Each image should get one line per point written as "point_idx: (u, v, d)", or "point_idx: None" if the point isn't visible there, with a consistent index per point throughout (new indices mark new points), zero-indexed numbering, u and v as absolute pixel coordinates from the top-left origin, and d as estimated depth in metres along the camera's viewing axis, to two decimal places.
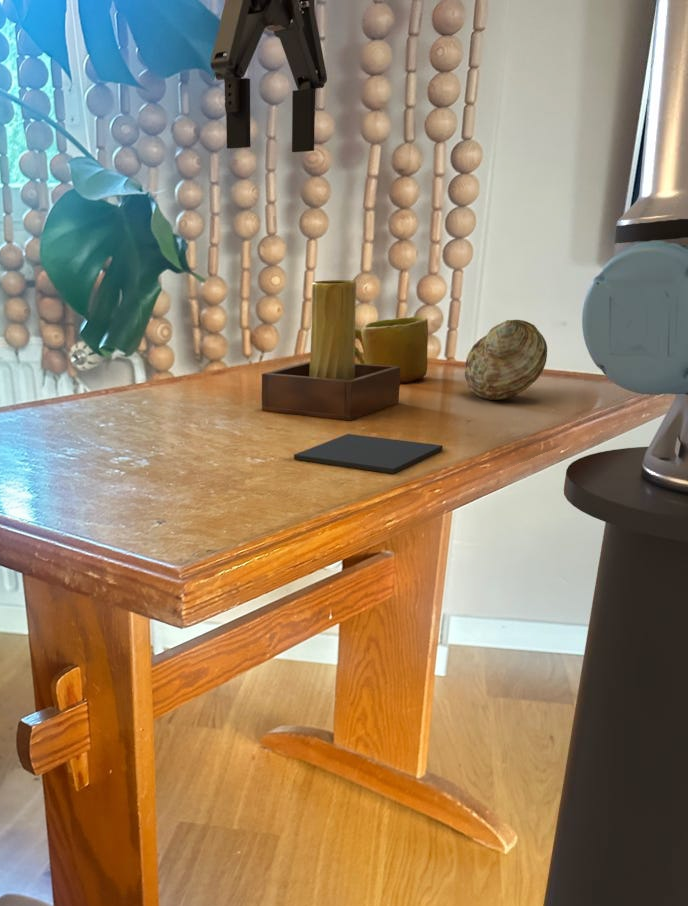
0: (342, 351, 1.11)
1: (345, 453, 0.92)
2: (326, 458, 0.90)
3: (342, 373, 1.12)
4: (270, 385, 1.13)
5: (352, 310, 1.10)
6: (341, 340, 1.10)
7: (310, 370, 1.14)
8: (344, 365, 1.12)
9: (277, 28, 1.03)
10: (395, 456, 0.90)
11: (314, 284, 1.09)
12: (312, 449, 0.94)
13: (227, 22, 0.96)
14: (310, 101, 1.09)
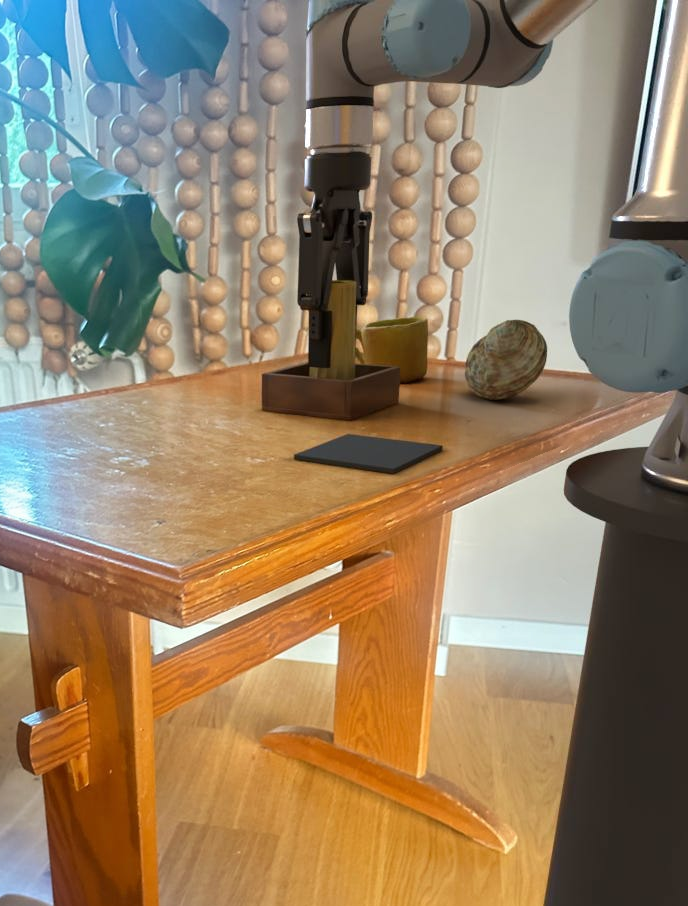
0: (343, 351, 1.11)
1: (345, 453, 0.92)
2: (326, 458, 0.90)
3: (343, 373, 1.12)
4: (270, 385, 1.13)
5: (352, 310, 1.10)
6: (341, 340, 1.10)
7: (310, 370, 1.14)
8: (344, 365, 1.12)
9: None
10: (395, 456, 0.90)
11: None
12: (312, 449, 0.94)
13: (306, 264, 1.05)
14: None
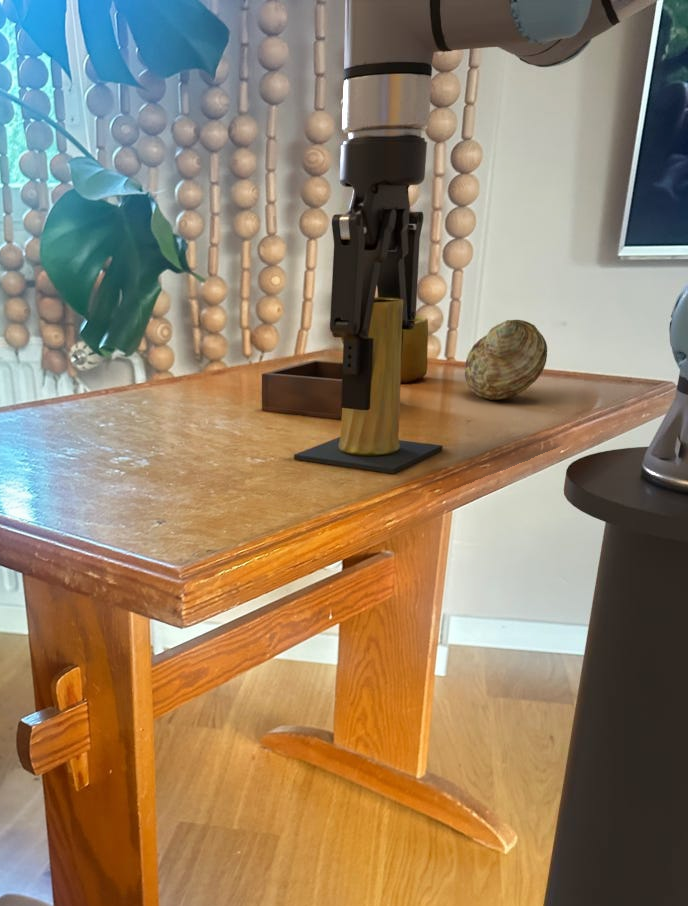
0: (386, 387, 0.88)
1: (345, 453, 0.92)
2: (326, 458, 0.90)
3: (385, 414, 0.89)
4: (270, 385, 1.13)
5: (398, 336, 0.87)
6: (384, 373, 0.87)
7: (344, 410, 0.91)
8: (387, 404, 0.89)
9: None
10: (395, 456, 0.90)
11: None
12: (312, 449, 0.94)
13: (342, 280, 0.81)
14: None
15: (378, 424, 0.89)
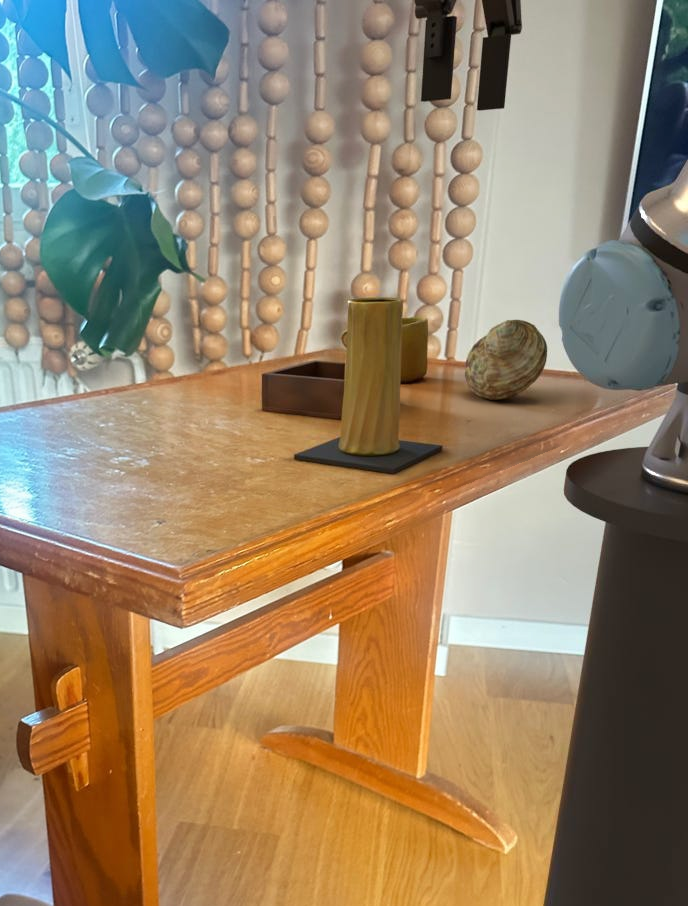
0: (386, 387, 0.88)
1: (345, 453, 0.92)
2: (326, 458, 0.90)
3: (385, 414, 0.89)
4: (270, 385, 1.13)
5: (398, 336, 0.87)
6: (384, 373, 0.87)
7: (344, 410, 0.91)
8: (387, 404, 0.89)
9: None
10: (395, 456, 0.90)
11: (350, 303, 0.86)
12: (312, 449, 0.94)
13: None
14: (505, 49, 0.94)
15: (378, 424, 0.89)
